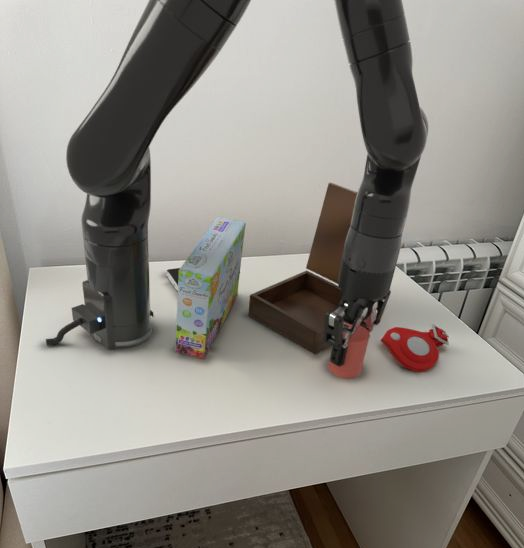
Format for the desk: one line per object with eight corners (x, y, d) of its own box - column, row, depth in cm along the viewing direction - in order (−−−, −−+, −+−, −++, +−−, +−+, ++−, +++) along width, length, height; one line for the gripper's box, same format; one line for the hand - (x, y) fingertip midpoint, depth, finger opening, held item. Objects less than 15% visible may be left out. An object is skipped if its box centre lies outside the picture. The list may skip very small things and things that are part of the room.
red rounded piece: (433, 375, 84) (378, 341, 86) (421, 390, 88) (369, 357, 90) (459, 329, 91) (407, 299, 93) (447, 344, 94) (398, 315, 97)
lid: (403, 210, 87) (418, 209, 91) (328, 182, 95) (345, 182, 99) (373, 301, 94) (387, 296, 98) (305, 268, 102) (321, 265, 106)
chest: (315, 355, 88) (319, 333, 85) (248, 315, 96) (250, 294, 93) (368, 323, 97) (373, 303, 95) (303, 289, 106) (306, 270, 103)
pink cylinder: (321, 367, 85) (329, 330, 81) (341, 355, 88) (349, 319, 84) (348, 383, 82) (357, 346, 78) (367, 369, 86) (376, 333, 82)
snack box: (208, 361, 84) (213, 276, 74) (173, 353, 84) (174, 269, 75) (240, 295, 100) (247, 219, 91) (211, 289, 101) (215, 213, 92)
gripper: (375, 237, 81) (354, 330, 91) (316, 262, 72) (299, 363, 81) (418, 254, 77) (391, 350, 87) (362, 283, 68) (339, 387, 78)
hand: (347, 356), depth 84 cm, fingers closed on pink cylinder, 5 cm apart
